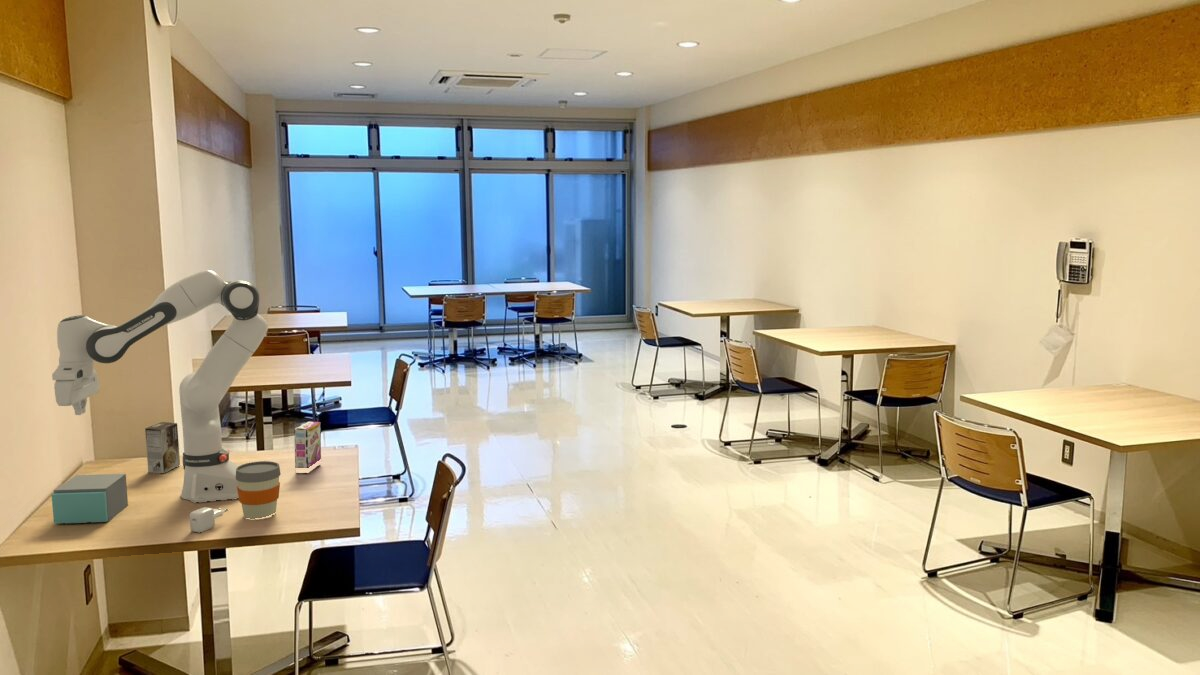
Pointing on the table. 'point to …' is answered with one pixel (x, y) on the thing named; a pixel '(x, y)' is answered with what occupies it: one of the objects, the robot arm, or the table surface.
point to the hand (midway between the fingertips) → (80, 414)
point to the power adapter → (204, 518)
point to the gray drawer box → (100, 489)
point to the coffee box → (162, 447)
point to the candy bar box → (307, 444)
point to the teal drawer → (79, 507)
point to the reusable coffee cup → (258, 488)
